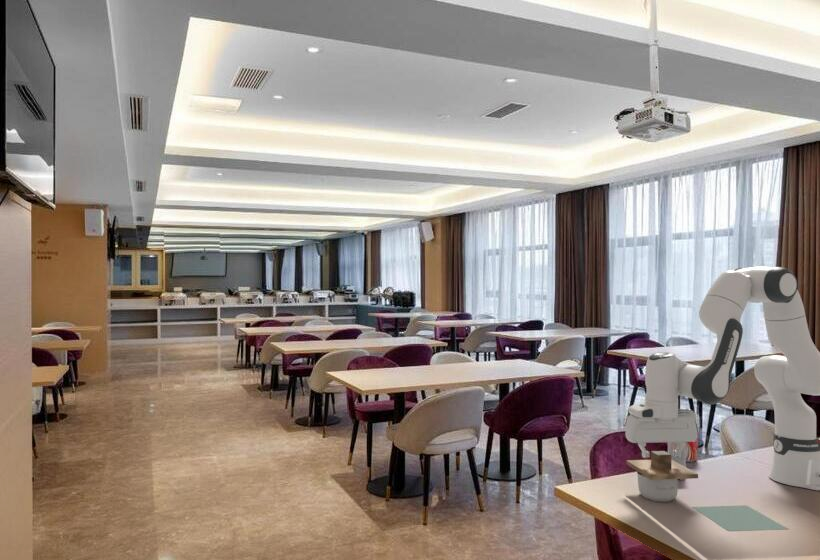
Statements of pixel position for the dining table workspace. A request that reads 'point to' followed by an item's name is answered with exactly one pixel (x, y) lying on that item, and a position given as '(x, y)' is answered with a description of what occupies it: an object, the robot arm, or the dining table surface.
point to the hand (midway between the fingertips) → (661, 457)
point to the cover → (661, 467)
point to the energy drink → (679, 460)
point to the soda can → (692, 450)
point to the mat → (739, 518)
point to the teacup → (657, 488)
